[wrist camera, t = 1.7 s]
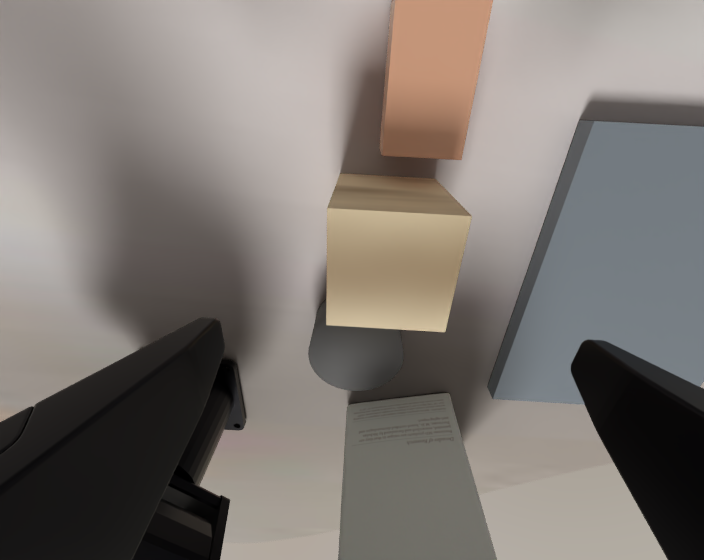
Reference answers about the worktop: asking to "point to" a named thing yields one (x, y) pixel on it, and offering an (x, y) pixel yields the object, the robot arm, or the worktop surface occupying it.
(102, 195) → the worktop surface
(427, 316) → the beech block
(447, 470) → the supplement box
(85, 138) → the worktop surface
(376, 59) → the worktop surface
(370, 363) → the smooth grey pebble
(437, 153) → the terracotta tile
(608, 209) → the slate board
